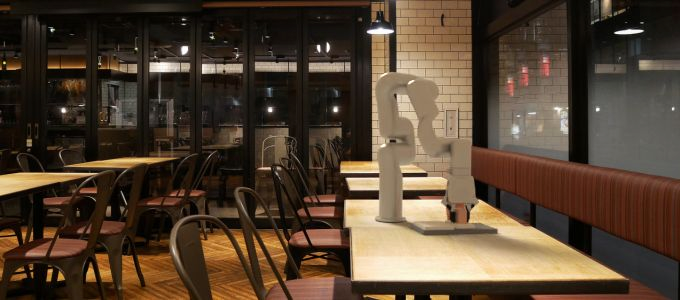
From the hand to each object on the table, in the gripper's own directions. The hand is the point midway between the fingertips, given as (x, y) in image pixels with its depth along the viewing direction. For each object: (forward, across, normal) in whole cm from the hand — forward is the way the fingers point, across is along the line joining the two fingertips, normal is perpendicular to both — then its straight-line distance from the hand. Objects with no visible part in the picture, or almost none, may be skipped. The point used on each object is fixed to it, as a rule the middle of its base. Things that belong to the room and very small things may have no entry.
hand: (459, 221), depth 223 cm
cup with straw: (+4, +6, +18) cm, 19 cm away
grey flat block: (+3, -2, 0) cm, 4 cm away
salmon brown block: (+2, 0, 0) cm, 2 cm away
